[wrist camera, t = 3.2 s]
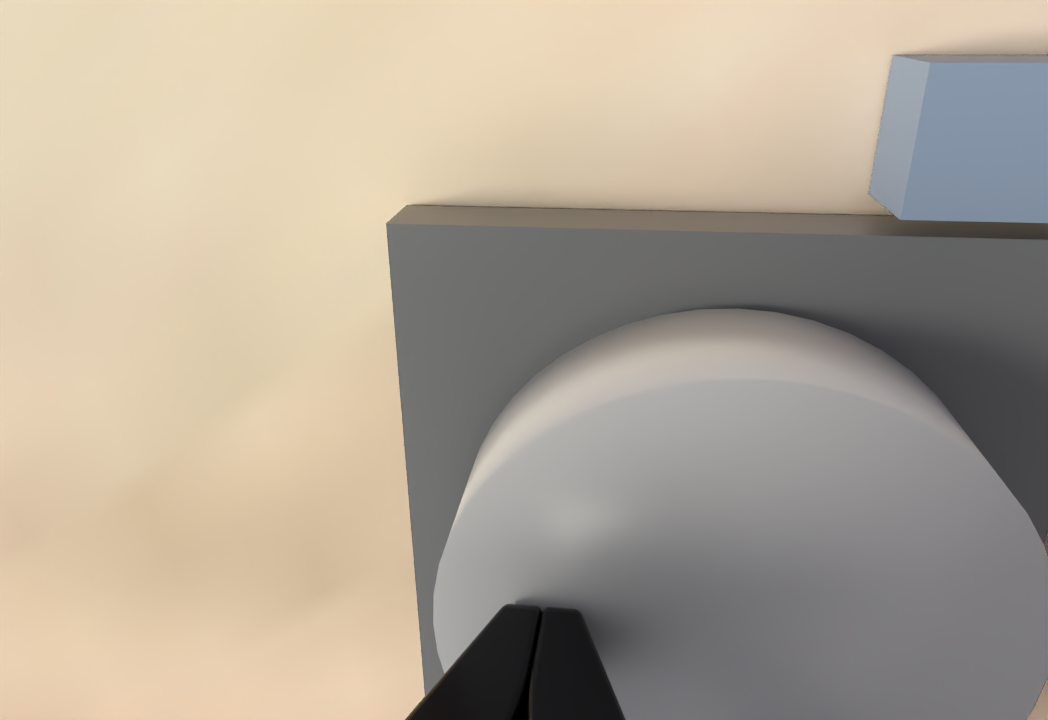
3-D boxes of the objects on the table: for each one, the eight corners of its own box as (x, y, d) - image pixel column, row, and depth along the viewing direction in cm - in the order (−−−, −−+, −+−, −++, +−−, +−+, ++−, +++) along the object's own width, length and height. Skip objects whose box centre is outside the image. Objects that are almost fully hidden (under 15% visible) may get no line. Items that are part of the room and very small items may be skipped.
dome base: (944, 727, 12) (966, 779, 11) (439, 679, 13) (427, 724, 12) (1095, 220, 9) (1141, 242, 8) (406, 205, 10) (386, 223, 9)
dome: (912, 715, 11) (975, 877, 9) (479, 674, 12) (446, 816, 10) (1024, 301, 9) (1148, 396, 7) (463, 282, 10) (415, 362, 7)
